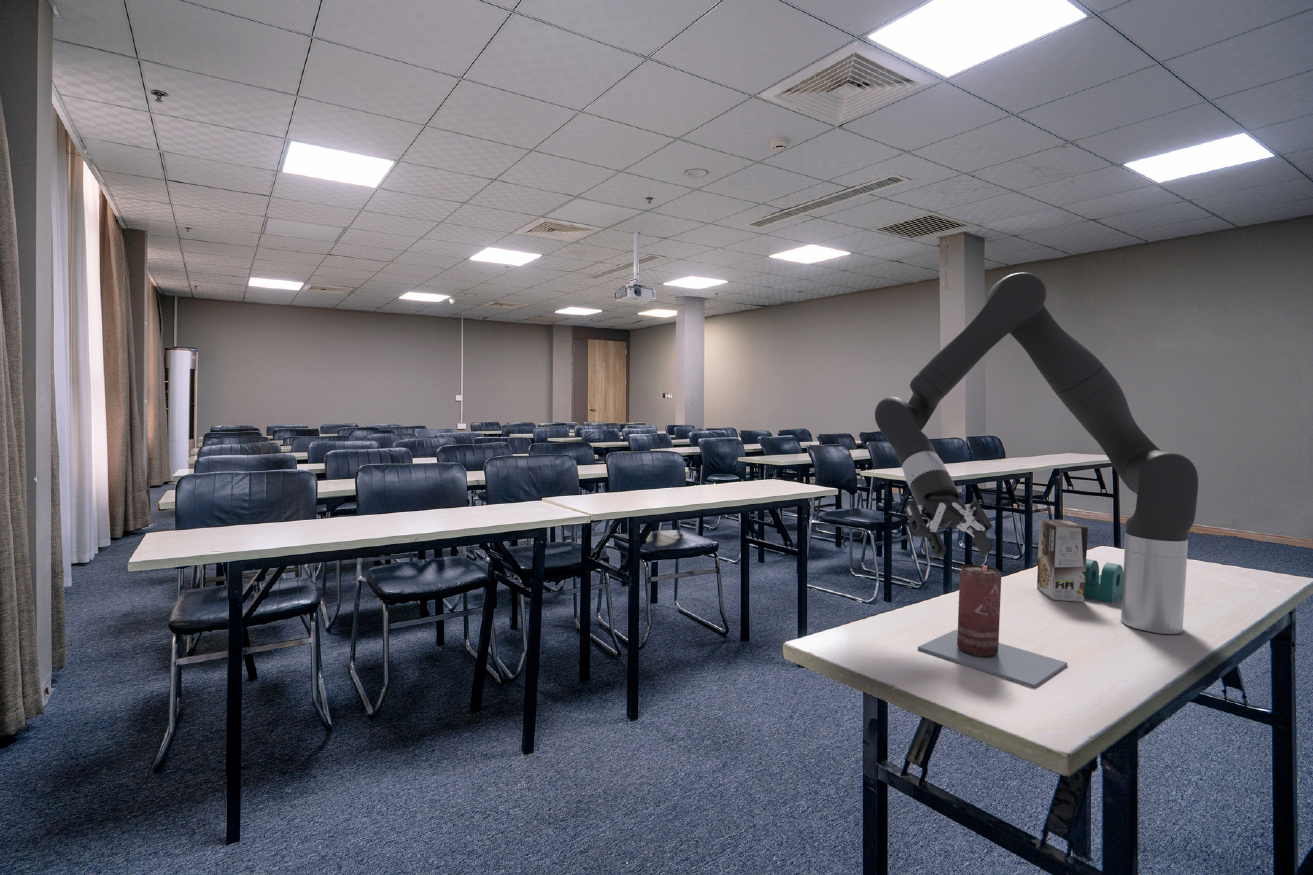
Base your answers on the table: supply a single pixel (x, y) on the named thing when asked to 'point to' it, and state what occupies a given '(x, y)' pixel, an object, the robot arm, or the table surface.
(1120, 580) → the bracket
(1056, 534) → the coffee box
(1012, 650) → the mat
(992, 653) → the can
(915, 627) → the table surface
